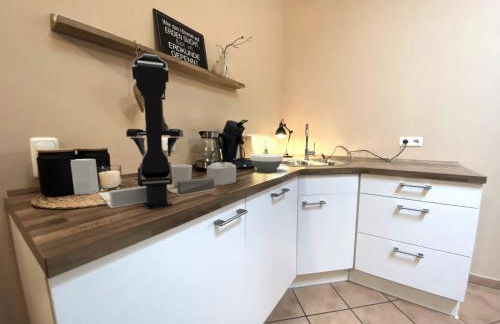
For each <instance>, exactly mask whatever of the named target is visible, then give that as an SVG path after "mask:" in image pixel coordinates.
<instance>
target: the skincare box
mask: <svg viewBox="0 0 500 324" xmlns="http://www.w3.org/2000/svg"><path fill="white" fill-rule="evenodd" d="M70 161H71V162H70V168H71V177H72V184H73V185H72V186H73V192H74V193H73V194H74V195H75V196H76V195H77V196H78V195H79V194H80V195H94V194H97V193H99V192H98V191H100V187H99V180H98V169H97V162H96V159H95V158H82V159H81V158H80V159H79V158H77V159H70ZM96 192H97V193H96ZM93 193H94V194H93Z"/></svg>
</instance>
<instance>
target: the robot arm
mask: <svg viewBox="0 0 500 324" xmlns="http://www.w3.org/2000/svg"><path fill="white" fill-rule="evenodd" d="M131 71H132V73H131V75H132V79H133V80H134V81H135V84H136V85H135V86H136V88H137V90H138V91H139V92H140V97H142V99H143V105H144V118H145V120H144V121H145V130H144V129H142V128H127V130H126V131H125V137H126V138H130V140H133V142H134V144H135V145H136V146H137V148H138V150H139V152H140V154H141V156H142V159H141V162H140V164H139V166H138V168H137V187H142V186H146V199H147V202H143V203H142V206H144V207H145V208H147V209H148V210H153V209H157V208H163V207H168V206H172V205H173V202H171V201H169V199H168V190H167V185H169V184H170V185H172V183H173V178H172V171H171V166H172V163H171V162H169V158H170V157H171V155H172V153H173V149H174V146H175V144H176V142H177V140H180V138H183V137H184V130H183V129H182V128H181V129H179V128H169V126H168V124H167V123H166V120H165V117H164V104H163V103H164V102H163V101H166V90H167V83H169V78H170V77H169V65H168V63H167V62H166V61H164V60H163V59H162V58H161V56H159V55H158V54H150V53H143V54H140V56H139V57H136V58H134V59H133V60H132V65H131ZM143 136H145V137H146V138H145V137H143ZM163 136H169V137H167V152H166V150H164V149H163ZM145 140H146V146H147V148H145ZM168 176H169V177H168Z"/></svg>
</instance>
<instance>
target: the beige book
mask: <svg viewBox="0 0 500 324" xmlns="http://www.w3.org/2000/svg"><path fill="white" fill-rule="evenodd" d="M215 190H216V187H215V185H214V178H210V177H208V178H207V177H202V178H195V179H191V180H186V181H179V182H177V186H175V185H174V183H173V182H172V185H170V184H169V185H167V192H170V193H172V194H174V195H177V196H179V197H183V196H188V195H194V194H195V195H196V194H200V193H205V192H210V191H215Z"/></svg>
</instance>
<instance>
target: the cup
mask: <svg viewBox="0 0 500 324" xmlns="http://www.w3.org/2000/svg"><path fill="white" fill-rule="evenodd" d="M192 168H193V165H192V164H173V165H171V175H172V183H174V185H175V186H177V182H179V181H186V180H192V171H193V169H192Z"/></svg>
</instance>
